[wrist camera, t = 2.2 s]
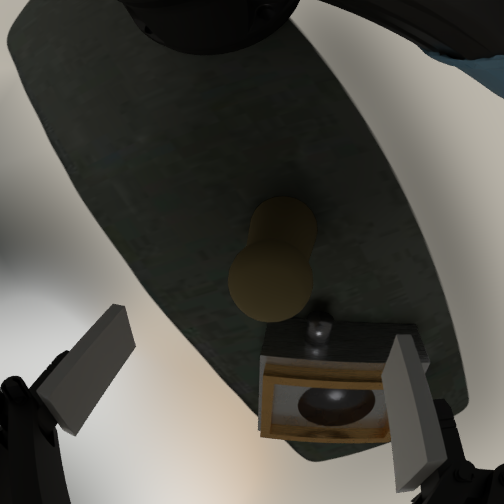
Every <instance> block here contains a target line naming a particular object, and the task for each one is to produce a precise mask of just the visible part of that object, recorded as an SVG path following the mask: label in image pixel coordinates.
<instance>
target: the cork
mask: <svg viewBox="0 0 504 504" xmlns="http://www.w3.org/2000/svg"><path fill="white" fill-rule="evenodd" d="M317 231H318V230H317V221H316V219H315V216H314V214H313V212H312V211H311V210H310V209H309V208H308V206H307V205H306V204H305V203H303V202H301V201H299V200H297V199H296V198H292V197H287V196H280V197H273V198H270V199H268V200H266V201H264V202H263V203H262V204H260V205H259V206H258V207H257V208H256V210H255V212H254V213H253V215H252V217H251V222H250V228H249V234H248V240H247V246H246V247H245V248H244V249H243V250H242V251H241V252H239V253H238V254H237V256H236V258H235V259H234V261H233V263H232V265H231V267H230V269H229V278H228V287H229V291H230V295H231V297H232V299H233V300H234V302H235V304H236V305H237V307H238V308H239V309H240V310H241V311H243V312H244V313H245V314H246V315H247V316H249V317H251V318H253V319H255V320H258V321H263V322H280V321H283V320H286V319H289V318H291V317H293V316H294V315H296V314H297V313H299V312H300V311H301V310H302V309H303V308H304V306H305V305H306V304H307V302H308V300H309V298H310V296H311V292H312V289H313V276H312V269H311V267H310V265H309V263H308V262H309V259H310V256H311V253H312V249H313V246H314V243H315V240H316V236H317Z"/></svg>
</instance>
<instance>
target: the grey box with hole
mask: <svg viewBox="0 0 504 504" xmlns="http://www.w3.org/2000/svg"><path fill="white" fill-rule="evenodd" d="M396 334H399V335H411V336H412V338H413V341H414V344H415V347H416V349H417V352H418V355H419V358H420V361H421V364H422V367H423V370H424V373H426V370H427V368H428V366H429V364H430V360H429V358H428V355H427V352H426V349H425V347H424V344H423V342H422V339H421V336H420V334H419V331H418V329H417V326H416V324H383V323H361V322H343V321H334V318H333V316H332V315H331V314H329V313H327V312H324V311H314V312H312V313H310V314H309V315H308V318H307V319H301V318H289V319H286V320H283V321H280V322H268V323H267V328H266V332H265V337H264V341H263V345H262V350H261V354H260V380H259V414H258V430H259V431H261V434H260V437H265V438H272V439H281V440H292V441H305V442H324V443H379V442H390V440H391V435H390V427H389V420H388V413H387V407H386V401H385V395H384V389H383V383H382V378H381V375H382V373H383V370H384V367H385V365H386V362H387V359H388V357H389V354H390V351H391V348H392V346H393V343H394V340H395V337H396Z"/></svg>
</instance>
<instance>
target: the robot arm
mask: <svg viewBox="0 0 504 504" xmlns="http://www.w3.org/2000/svg"><path fill="white" fill-rule="evenodd" d="M118 1H120V2H122V3H123V5H124V6H125V8H126V9H127V11H128V12H129V14H130V15H131V17H132V18H133V20H134V22H135V23H136V24H137V26H138V27H139V28H140V30H141V31H142V32H143V33H144V34H145V35H147V36H148V37H149V38H151V39H152V40H154V41H155V42H157V43H159V44H161V45H164V46H166V47H168V48H171V49H173V50H176V51H179V52H182V53H187V54H194V55H216V54H223V53H228V52H232V51H236V50H239V49H242V48H245V47H248V46H250V45H252V44H255V43H257V42H259V41H261V40H262V39H264V38H266V37H267V36H269V35H270V34H272V33H273V32H274V31H276V30H277V29H278V28H279V27H281V26H282V25H283V24H284V23H285V22H286V21H287V19H288V18H289V17H290V16H291V14H292V13H293V12H294V10H295V9H296V7H297V5H298V3H299V1H300V0H118ZM319 1H322V2H325V3H328V4H331V5H333V6H336V7H339V8H341V9H344V10H346V11H349V12H351V13H354V14H356V15H358V16H361V17H363V18H365V19H368V20H370V21H372V22H374V23H376V24H378V25H380V26H382V27H384V28H386V29H388V30H390V31H392V32H394V33H396V34H398V35H400V36H402V37H404V38H406V39H407V40H409V41H411V42H413V43H414V44H416V45H417V46H418V47H419V48H420V49H421V50H422V51H423V52H424V53H425V54H427V55H428V56H430V57H431V58H433V59H435V60H437V61H439V62H442V63H445V64H447V65H451V66H455V67H457V68H458V69H460V70H462V71H463V72H465V73H466V74H468V75H469V76H471V77H472V78H474V79H475V80H477V81H478V82H479V83H481V84H482V85H484V86H485V87H486V88H488V89H489V90H491V91H492V92H493V93H495V94H497V95H498V96H500V97H502V98H503V99H504V0H319ZM135 347H136V346H135V342H134V338H133V335H132V331H131V328H130V324H129V320H128V316H127V312H126V309H125V306H121V305H116V304H112V306H111V307H110V308H109V309H108V310H107V311H106V312H105V313H104V314H103V315H102V316H101V317H100V318H99V319H98V320H97V322H96V323H95V324H94V325H93V326H92V327H91V328H90V329H89V330H88V331H87V333H86V334H85V335H84V336H83V337H82V338H81V339H80V340H79V341H78V342H77V344H76V345H75V346H74V347H73V348H72V349H71V350H70V351H67V350H66V351H64V352H63V353H61V354H59V355H58V356H57V357H56V358H55V359H54V361H52V364H50V365H49V366H48V367H47V369H46V370H45V371H44V372H43V373H42V374H41V375H40V376H39V378H38V379H37V380H36V381H35V382H34V383H33V385H32V386H31V387H30V388H29V389H28V387H27V386H26V384H25V382H24V381H23V379H22V378H21V377H19V376H11V377H8V378H7V379H6V380H4V381H3V383H2V384H1V387H0V389H1V390H0V504H71V502H70V498H69V494H68V490H67V485H66V481H65V476H64V471H63V466H62V460H61V454H60V448H59V441H58V434H57V430H56V428H55V426H56V425H57V423H58V424H59V425H60V427H61V428H62V429H63V430H64V431H66V432H68V433H69V434H72V435H73V436H76V435H77V433H78V432H79V430H80V429H81V427H82V426H83V424H84V422H85V421H86V419H87V418H88V416H89V415H90V413H91V412H92V410H93V409H94V407H95V406H96V404H97V403H98V401H99V400H100V398H101V397H102V395H103V394H104V392H105V391H106V389H107V388H108V386H109V385H110V383H111V382H112V380H113V379H114V378H115V376H116V375H117V373H118V372H119V370H120V369H121V367H122V366H123V364H124V363H125V362H126V360H127V359H128V357H129V356H130V354H131V353H132V352H133V350H134V348H135ZM381 378H382V383H383V389H384V395H385V401H386V407H387V413H388V420H389V427H390V435H391V443H392V451H393V460H394V470H395V482H396V493H400V492H407V491H413V490H415V489H416V488H417V487H418V486H420V485H421V493H419V494H418V495H417V496H416V497H415V498H413V499H412V500H411V502H413V503H412V504H504V464H502V465H500V466H498V467H497V468H496V469H495V470H485V469H477V468H475V466H474V465H473V464H472V463H471V462H469V461H467V460H466V459H465V456H464V452H463V448H462V444H461V441H460V437H459V433H458V430H457V428H456V423H455V420H454V416H453V413H452V409H451V407H450V406H449V405H448V403H447V402H446V401H445V399H435V400H433V399H432V396H431V392H430V389H429V386H428V383H427V379H426V376H425V373H424V370H423V367H422V364H421V361H420V358H419V355H418V352H417V349H416V347H415V344H414V341H413V338H412V336H411V335H399V334H396V337H395V340H394V343H393V346H392V348H391V351H390V354H389V357H388V359H387V362H386V365H385V367H384V370H383V373H382V375H381Z"/></svg>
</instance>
